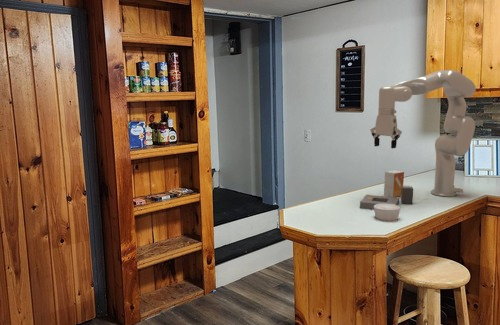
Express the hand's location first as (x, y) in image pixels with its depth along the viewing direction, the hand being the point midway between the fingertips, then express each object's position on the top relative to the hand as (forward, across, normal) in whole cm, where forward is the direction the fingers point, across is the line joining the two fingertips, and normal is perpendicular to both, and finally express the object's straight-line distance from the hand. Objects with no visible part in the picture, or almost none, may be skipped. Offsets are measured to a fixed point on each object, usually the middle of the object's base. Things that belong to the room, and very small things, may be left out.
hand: (385, 147), depth 216 cm
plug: (+28, -10, -6) cm, 30 cm away
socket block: (+28, -4, +8) cm, 29 cm away
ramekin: (+28, -18, +23) cm, 40 cm away
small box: (+28, +4, -14) cm, 32 cm away
